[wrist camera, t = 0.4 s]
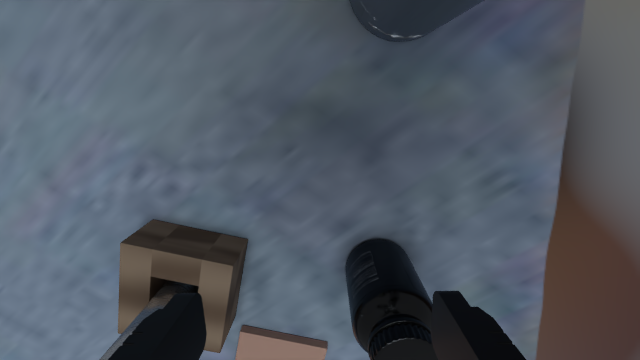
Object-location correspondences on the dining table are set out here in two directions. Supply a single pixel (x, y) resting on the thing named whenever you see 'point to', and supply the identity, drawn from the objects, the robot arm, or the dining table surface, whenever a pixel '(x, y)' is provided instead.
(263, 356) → the terracotta mat
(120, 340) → the metal pin
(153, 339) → the robot arm
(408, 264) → the supplement bottle
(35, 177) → the dining table surface
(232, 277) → the walnut block
